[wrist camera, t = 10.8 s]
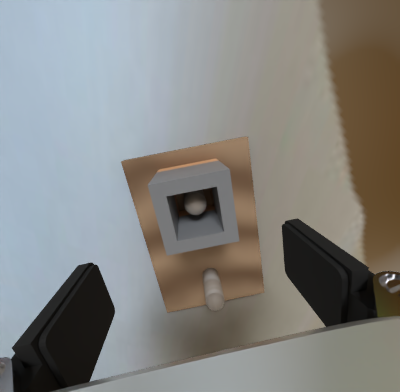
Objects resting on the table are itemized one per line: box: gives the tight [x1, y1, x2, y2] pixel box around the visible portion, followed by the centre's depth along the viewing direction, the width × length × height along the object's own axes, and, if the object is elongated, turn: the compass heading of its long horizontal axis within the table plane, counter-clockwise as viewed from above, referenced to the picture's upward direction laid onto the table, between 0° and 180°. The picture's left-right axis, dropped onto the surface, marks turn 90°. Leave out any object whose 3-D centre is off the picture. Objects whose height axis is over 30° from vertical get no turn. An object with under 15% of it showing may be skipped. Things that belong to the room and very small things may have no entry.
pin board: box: [121, 137, 264, 313], centre depth 21 cm, size 20×13×6 cm, turn 10°
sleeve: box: [148, 159, 239, 256], centre depth 18 cm, size 6×6×6 cm
